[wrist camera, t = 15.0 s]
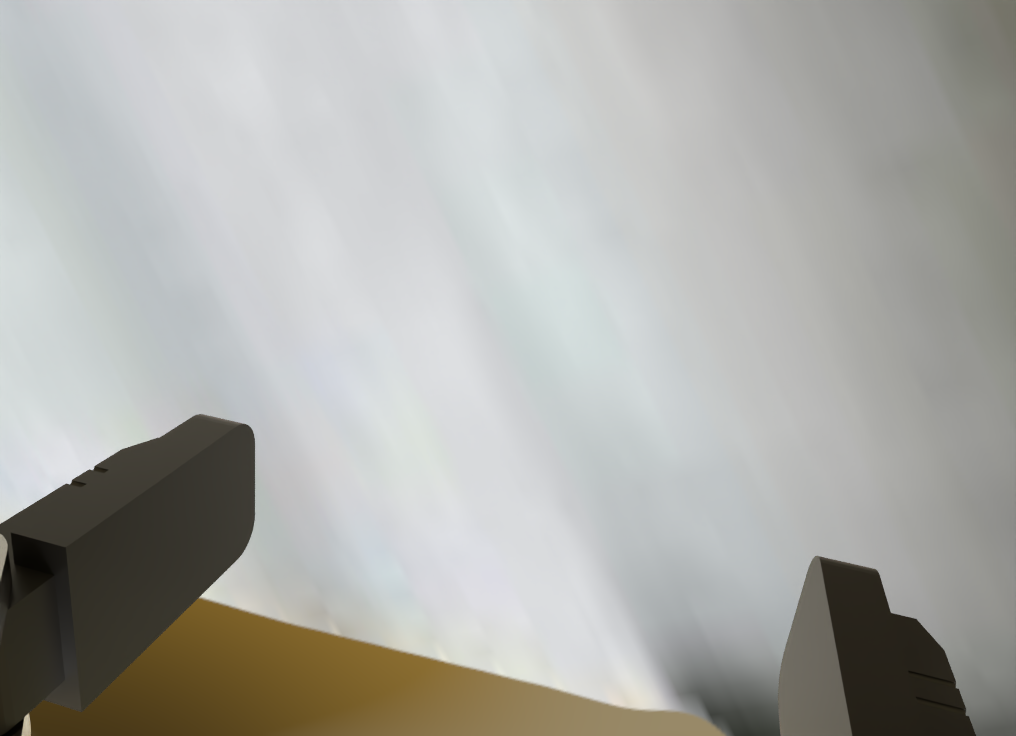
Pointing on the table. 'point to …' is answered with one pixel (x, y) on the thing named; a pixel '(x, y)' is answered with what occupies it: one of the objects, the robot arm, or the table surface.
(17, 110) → the table surface
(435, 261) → the table surface
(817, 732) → the robot arm
